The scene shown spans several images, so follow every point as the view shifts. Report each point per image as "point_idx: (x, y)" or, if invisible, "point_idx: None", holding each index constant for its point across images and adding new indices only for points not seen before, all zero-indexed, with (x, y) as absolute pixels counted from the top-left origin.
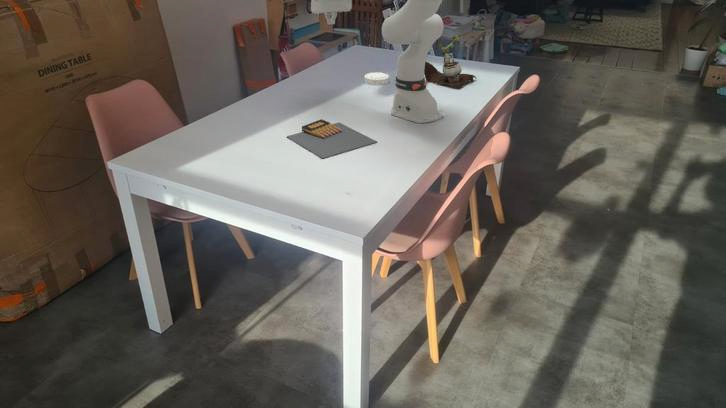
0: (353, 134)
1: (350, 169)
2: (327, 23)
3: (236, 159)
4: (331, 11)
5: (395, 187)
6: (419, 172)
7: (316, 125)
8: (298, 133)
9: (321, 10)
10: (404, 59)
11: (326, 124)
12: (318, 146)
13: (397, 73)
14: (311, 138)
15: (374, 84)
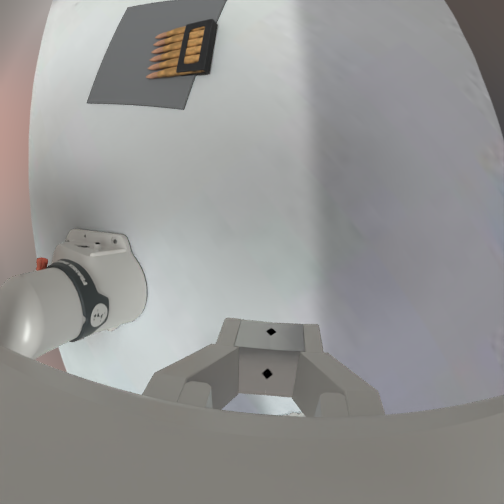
0: (127, 89)
1: (89, 25)
2: (312, 324)
3: None
4: (154, 398)
5: (45, 48)
6: (33, 90)
7: (196, 46)
8: (216, 15)
9: (461, 424)
10: (11, 283)
11: (178, 61)
12: (152, 17)
13: (60, 282)
14: (180, 22)
15: (289, 415)
